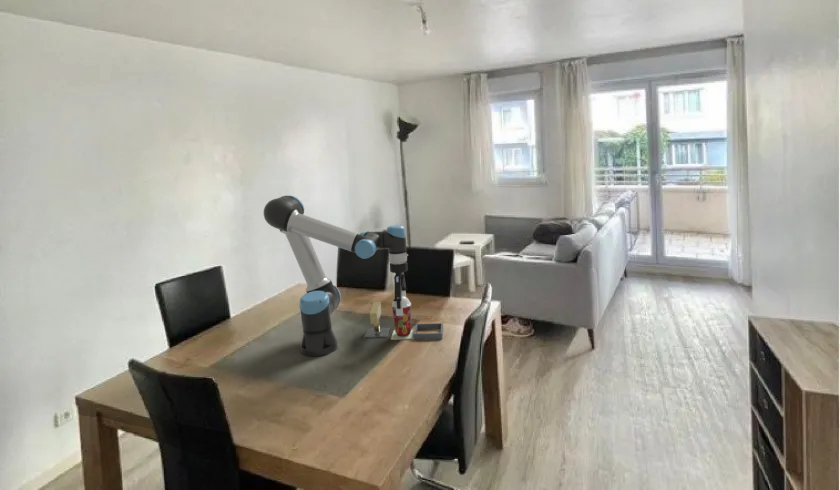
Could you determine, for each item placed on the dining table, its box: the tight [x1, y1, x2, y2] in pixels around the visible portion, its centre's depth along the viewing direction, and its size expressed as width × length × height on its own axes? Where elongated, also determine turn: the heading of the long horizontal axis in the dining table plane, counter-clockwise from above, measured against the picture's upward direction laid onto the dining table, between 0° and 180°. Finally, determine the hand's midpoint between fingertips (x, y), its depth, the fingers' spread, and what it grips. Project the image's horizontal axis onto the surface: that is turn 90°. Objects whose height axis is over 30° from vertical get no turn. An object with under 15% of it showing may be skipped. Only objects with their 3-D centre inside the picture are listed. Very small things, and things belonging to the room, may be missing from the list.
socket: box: [413, 322, 444, 341], centre depth 215 cm, size 12×12×2 cm
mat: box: [390, 329, 415, 341], centre depth 216 cm, size 10×10×1 cm
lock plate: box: [363, 327, 391, 339], centre depth 220 cm, size 10×10×1 cm
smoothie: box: [391, 296, 412, 336], centre depth 214 cm, size 8×8×20 cm
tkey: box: [369, 301, 382, 332], centre depth 218 cm, size 15×3×11 cm, turn 178°
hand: (401, 310), depth 214 cm, fingers open, 13 cm apart
